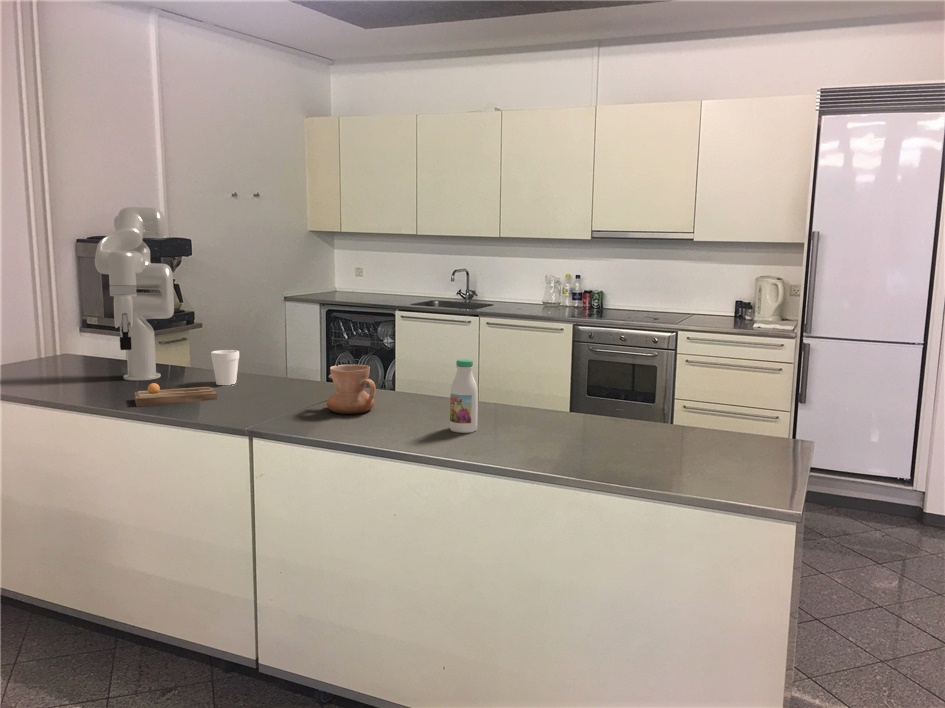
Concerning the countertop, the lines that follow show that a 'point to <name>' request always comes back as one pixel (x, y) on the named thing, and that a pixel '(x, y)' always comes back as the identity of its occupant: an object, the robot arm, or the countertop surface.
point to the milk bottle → (464, 399)
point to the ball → (153, 388)
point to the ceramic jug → (351, 389)
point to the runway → (174, 396)
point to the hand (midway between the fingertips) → (125, 349)
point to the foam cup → (225, 366)
